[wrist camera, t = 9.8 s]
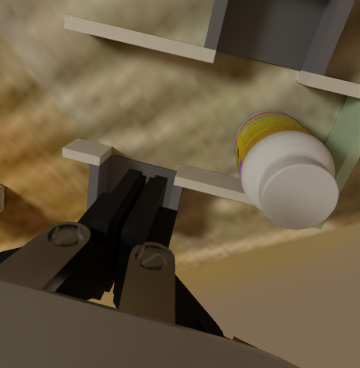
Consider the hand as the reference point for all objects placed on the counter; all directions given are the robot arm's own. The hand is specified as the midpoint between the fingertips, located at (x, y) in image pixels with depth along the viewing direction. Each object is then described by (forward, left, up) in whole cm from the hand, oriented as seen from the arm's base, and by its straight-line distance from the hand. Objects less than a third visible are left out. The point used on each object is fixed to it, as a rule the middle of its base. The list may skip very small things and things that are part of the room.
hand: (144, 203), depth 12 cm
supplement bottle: (+1, +8, -19) cm, 21 cm away
